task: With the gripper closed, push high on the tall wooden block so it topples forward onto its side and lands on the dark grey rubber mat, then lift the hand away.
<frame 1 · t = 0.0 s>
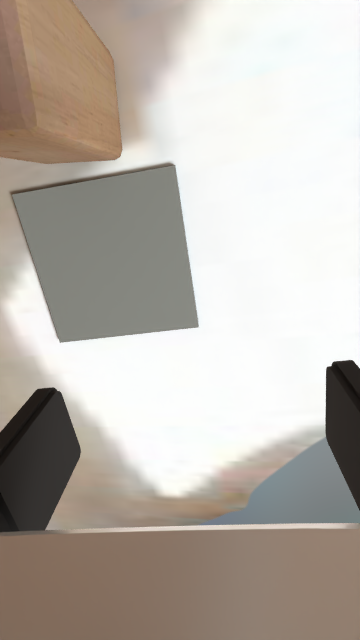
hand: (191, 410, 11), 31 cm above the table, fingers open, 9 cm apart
wooden block: (76, 112, 36), on the table
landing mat: (111, 263, 42), on the table
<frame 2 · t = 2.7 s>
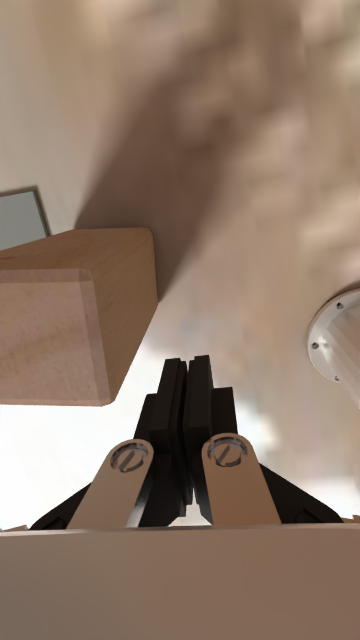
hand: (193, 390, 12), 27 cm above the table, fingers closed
wooden block: (116, 270, 39), on the table
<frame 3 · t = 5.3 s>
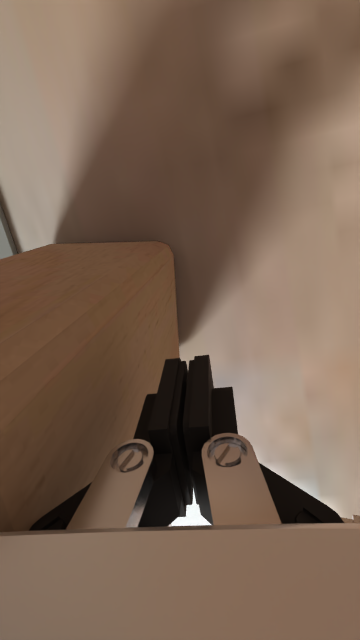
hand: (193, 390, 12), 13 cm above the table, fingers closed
wooden block: (117, 304, 26), on the table, touching gripper
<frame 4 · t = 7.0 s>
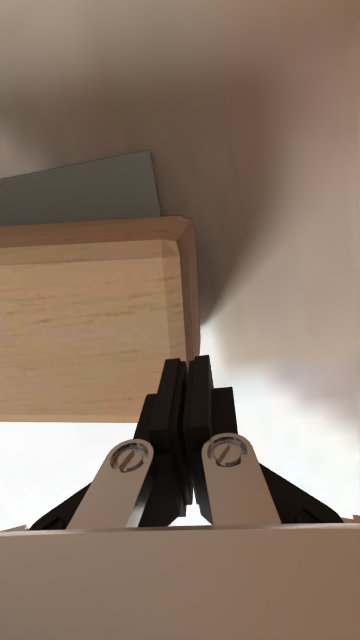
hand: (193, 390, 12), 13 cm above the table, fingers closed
wooden block: (199, 307, 19), point 6 cm above the table, touching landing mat
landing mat: (55, 309, 26), on the table
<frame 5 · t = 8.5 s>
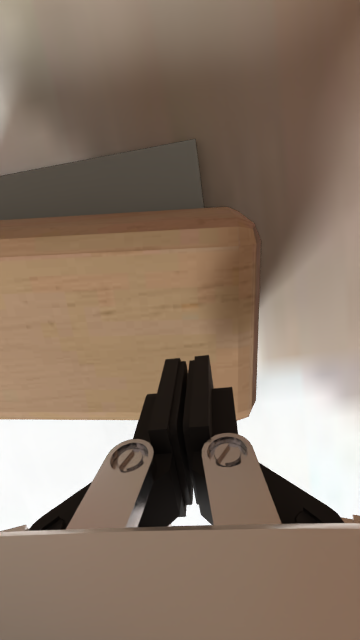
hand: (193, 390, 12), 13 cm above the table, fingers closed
wooden block: (251, 300, 19), point 6 cm above the table, touching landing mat
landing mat: (88, 304, 26), on the table
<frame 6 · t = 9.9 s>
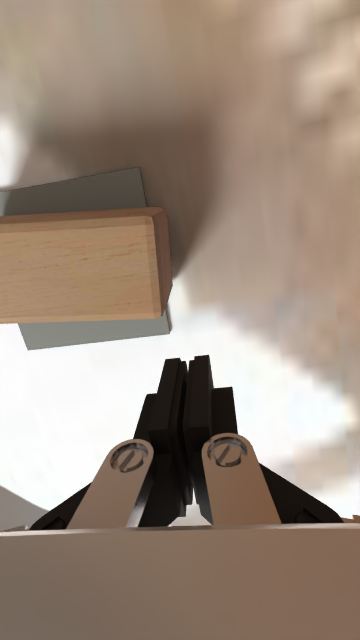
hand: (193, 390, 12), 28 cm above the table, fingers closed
wooden block: (168, 259, 33), point 6 cm above the table, touching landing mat
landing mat: (78, 268, 40), on the table
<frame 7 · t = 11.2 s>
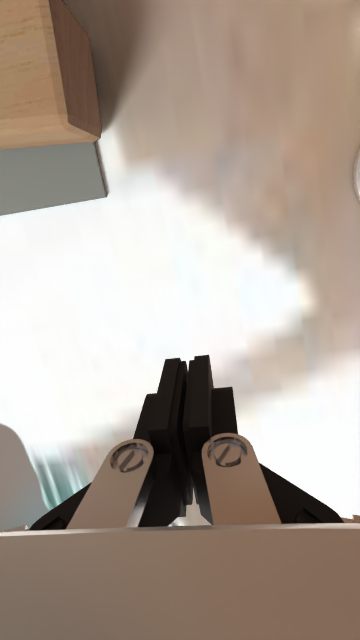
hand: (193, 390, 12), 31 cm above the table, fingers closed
wooden block: (84, 74, 30), point 6 cm above the table, touching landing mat
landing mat: (4, 120, 37), on the table
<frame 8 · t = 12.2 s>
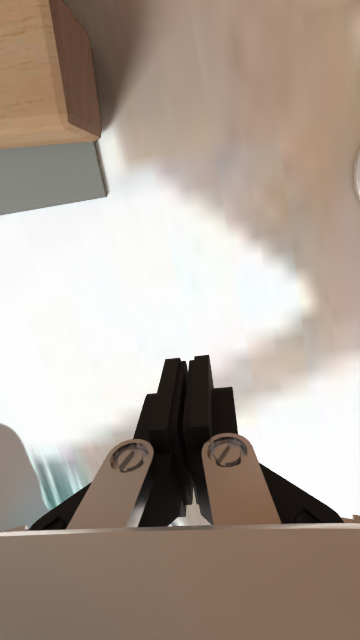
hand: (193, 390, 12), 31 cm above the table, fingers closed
wooden block: (84, 74, 30), point 6 cm above the table, touching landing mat
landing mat: (4, 119, 37), on the table
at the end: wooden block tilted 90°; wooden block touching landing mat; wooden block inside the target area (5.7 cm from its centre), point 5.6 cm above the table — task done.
